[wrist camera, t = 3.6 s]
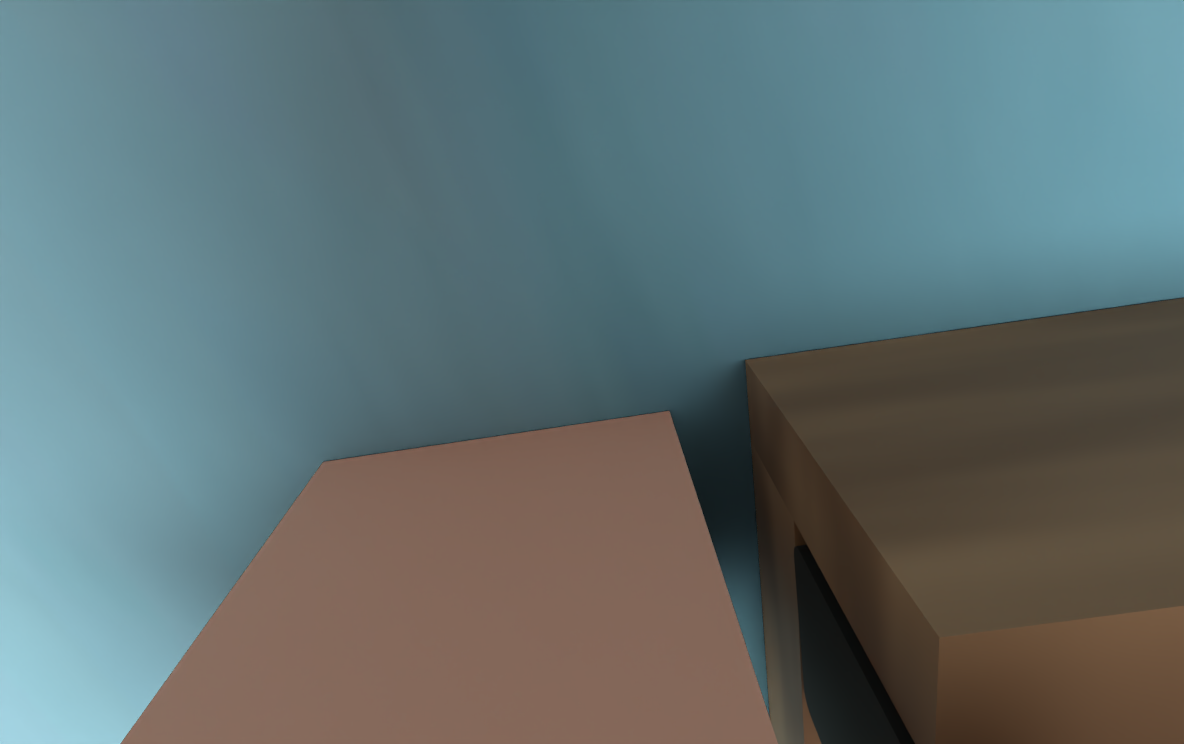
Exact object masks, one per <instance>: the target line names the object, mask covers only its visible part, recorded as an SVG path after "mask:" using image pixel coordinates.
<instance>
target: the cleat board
mask: <svg viewBox="0 0 1184 744" xmlns="http://www.w3.org/2000/svg"><path fill="white" fill-rule="evenodd" d="M745 364H746V379H747V393H748V408H749V422H750V437H751V451H752V466H753V480H754V494H755V509H756V523H757V538H758V552H759V567H760V581H761V596H762V610H763V625H764V639H765V654H766V668H767V683H768V697H769V712H770V721H771V724H772V727H773V730H774V733H775V736H776V739H777V742H778V744H821V741H820V739H819V736H818V734H817V731H816V728H815V726H814V723H813V721H812V718H811V716H810V713H809V710H808V706H807V702H806V698H805V693H804V684H803V671H802V657H801V644H800V631H799V617H798V604H797V591H796V578H795V564H794V547H795V546H801V545H806V544H807V546H808V547H809V549H810V551H811V553H812V555H813V557H814V559H815V560H816V562H817V564H818V566H819V568H820V570H821V571H822V573H823V575H824V577H825V579H826V581H827V582H828V584H829V586H830V588H831V590H832V592H833V594H834V595H835V597H836V599H837V601H838V603H839V605H840V606H841V608H842V610H843V612H844V614H845V616H846V617H847V619H848V621H849V623H850V625H851V627H852V629H853V630H854V632H855V634H856V636H857V638H858V640H859V641H860V643H861V645H862V647H863V649H864V651H865V653H866V654H867V656H868V658H869V660H870V662H871V664H872V665H873V667H874V669H875V671H876V673H877V675H878V676H879V678H880V680H881V682H882V684H883V686H884V688H885V689H886V691H887V693H888V695H889V697H890V699H891V700H892V702H893V704H894V706H895V708H896V710H897V711H898V713H899V715H900V717H901V719H902V721H903V723H904V724H905V726H906V728H907V730H908V732H909V734H910V735H911V737H912V739H913V741H914V743H915V744H1184V298H1179V299H1172V300H1165V301H1158V302H1151V303H1144V304H1137V305H1130V306H1123V307H1116V308H1109V309H1102V310H1095V311H1088V312H1080V313H1073V314H1066V315H1059V316H1052V317H1045V318H1038V319H1031V320H1024V321H1017V322H1010V323H1003V324H996V325H989V326H982V327H975V328H968V329H960V330H953V331H946V332H939V333H932V334H925V335H918V336H911V337H904V338H897V339H890V340H883V341H876V342H869V343H862V344H855V345H848V346H840V347H833V348H826V349H819V350H812V351H805V352H798V353H791V354H784V355H777V356H770V357H763V358H756V359H749V360H745Z"/></svg>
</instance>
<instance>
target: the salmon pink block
mask: <svg viewBox="0 0 1184 744" xmlns="http://www.w3.org/2000/svg"><path fill="white" fill-rule="evenodd" d="M121 744H778V742H777V739H776V736H775V733H774V730H773V727H772V724H771V721H770V718H769V715H768V712H767V708H766V705H765V702H764V699H763V696H762V693H761V690H760V687H759V684H758V681H757V678H756V675H755V672H754V669H753V666H752V662H751V659H750V656H749V653H748V650H747V647H746V644H745V641H744V638H743V635H742V632H741V629H740V626H739V623H738V620H737V616H736V613H735V610H734V607H733V604H732V601H731V598H730V595H729V592H728V589H727V586H726V583H725V580H724V577H723V574H722V571H721V567H720V564H719V561H718V558H717V555H716V552H715V549H714V546H713V543H712V540H711V537H710V534H709V531H708V528H707V525H706V521H705V518H704V515H703V512H702V509H701V506H700V503H699V500H698V497H697V494H696V491H695V488H694V485H693V482H692V479H691V475H690V472H689V469H688V466H687V463H686V460H685V457H684V454H683V451H682V448H681V445H680V442H679V439H678V436H677V433H676V429H675V426H674V423H673V420H672V417H671V414H670V411H664V412H657V413H651V414H644V415H637V416H630V417H623V418H617V419H610V420H603V421H596V422H590V423H583V424H576V425H569V426H563V427H556V428H549V429H542V430H535V431H529V432H522V433H515V434H508V435H502V436H495V437H488V438H481V439H475V440H468V441H461V442H454V443H448V444H441V445H434V446H427V447H420V448H414V449H407V450H400V451H393V452H387V453H380V454H373V455H366V456H360V457H353V458H346V459H339V460H332V461H326V462H323V463H322V464H321V465H320V467H319V468H318V470H317V471H316V472H315V474H314V475H313V477H312V478H311V479H310V481H309V482H308V483H307V485H306V486H305V488H304V489H303V490H302V492H301V493H300V495H299V496H298V497H297V499H296V500H295V502H294V503H293V504H292V506H291V507H290V509H289V510H288V511H287V513H286V514H285V515H284V517H283V518H282V520H281V521H280V522H279V524H278V525H277V527H276V528H275V529H274V531H273V532H272V534H271V535H270V536H269V538H268V539H267V541H266V542H265V543H264V545H263V546H262V547H261V549H260V550H259V552H258V553H257V554H256V556H255V557H254V559H253V560H252V561H251V563H250V564H249V566H248V567H247V568H246V570H245V571H244V573H243V574H242V575H241V577H240V578H239V580H238V581H237V582H236V584H235V585H234V586H233V588H232V589H231V591H230V592H229V593H228V595H227V596H226V598H225V599H224V600H223V602H222V603H221V605H220V606H219V607H218V609H217V610H216V612H215V613H214V614H213V616H212V617H211V618H210V620H209V621H208V623H207V624H206V625H205V627H204V628H203V630H202V631H201V632H200V634H199V635H198V637H197V638H196V639H195V641H194V642H193V644H192V645H191V646H190V648H189V649H188V650H187V652H186V653H185V655H184V656H183V657H182V659H181V660H180V662H179V663H178V664H177V666H176V667H175V669H174V670H173V671H172V673H171V674H170V676H169V677H168V678H167V680H166V681H165V682H164V684H163V685H162V687H161V688H160V689H159V691H158V692H157V694H156V695H155V696H154V698H153V699H152V701H151V702H150V703H149V705H148V706H147V708H146V709H145V710H144V712H143V713H142V715H141V716H140V717H139V719H138V720H137V721H136V723H135V724H134V726H133V727H132V728H131V730H130V731H129V733H128V734H127V735H126V737H125V738H124V740H123V741H122V742H121Z"/></svg>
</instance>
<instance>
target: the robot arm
mask: <svg viewBox="0 0 1184 744" xmlns="http://www.w3.org/2000/svg"><path fill="white" fill-rule="evenodd" d="M794 564H795V578H796V591H797V604H798V617H799V631H800V644H801V657H802V671H803V684H804V693H805V698H806V702H807V706H808V710H809V713H810V716H811V718H812V721H813V723H814V726H815V728H816V731H817V734H818V736H819V739H820V741H821V744H915V743H914V741H913V739H912V737H911V735H910V734H909V732H908V730H907V728H906V726H905V724H904V723H903V721H902V719H901V717H900V715H899V713H898V711H897V710H896V708H895V706H894V704H893V702H892V700H891V699H890V697H889V695H888V693H887V691H886V689H885V688H884V686H883V684H882V682H881V680H880V678H879V676H878V675H877V673H876V671H875V669H874V667H873V665H872V664H871V662H870V660H869V658H868V656H867V654H866V653H865V651H864V649H863V647H862V645H861V643H860V641H859V640H858V638H857V636H856V634H855V632H854V630H853V629H852V627H851V625H850V623H849V621H848V619H847V617H846V616H845V614H844V612H843V610H842V608H841V606H840V605H839V603H838V601H837V599H836V597H835V595H834V594H833V592H832V590H831V588H830V586H829V584H828V582H827V581H826V579H825V577H824V575H823V573H822V571H821V570H820V568H819V566H818V564H817V562H816V560H815V559H814V557H813V555H812V553H811V551H810V549H809V547H808V546H807V544H806V545H801V546H795V547H794Z"/></svg>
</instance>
